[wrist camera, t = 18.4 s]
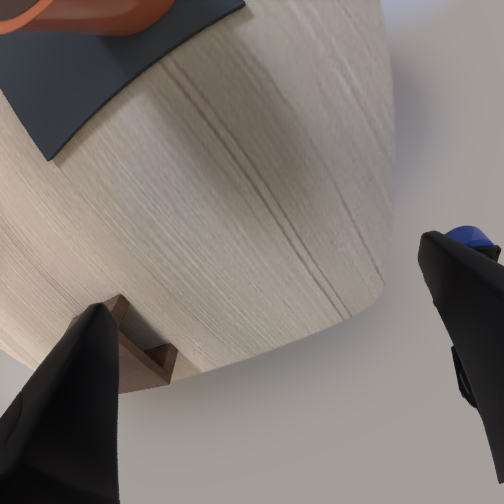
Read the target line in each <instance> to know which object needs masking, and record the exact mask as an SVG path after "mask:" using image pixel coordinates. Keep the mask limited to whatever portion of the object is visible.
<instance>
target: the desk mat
mask: <svg viewBox="0 0 504 504" xmlns="http://www.w3.org/2000/svg"><path fill="white" fill-rule="evenodd" d="M243 6H245V2H244V1H243V0H175V1H174V3H173V4H172V6H171V7H170V9H169V10H168V11H167V12H166V13H165V14H164V15H163V16H162V17H161V18H160V19H159V20H158V21H157V22H155V23H154V24H153V25H151V26H150V27H148V28H146V29H144V30H143V31H141V32H138V33H135V34H132V35H129V36H124V37H108V36H99V35H87V34H72V33H16V34H1V35H0V88H1V90H2V92H3V93H4V95H5V97H6V98H7V100H8V102H9V103H10V105H11V107H12V108H13V110H14V112H15V113H16V115H17V116H18V118H19V120H20V121H21V123H22V124H23V126H24V127H25V129H26V130H27V132H28V134H29V135H30V137H31V138H32V139H33V141H34V142H35V144H36V145H37V147H38V148H39V150H40V151H41V153H42V154H43V155H44V157H45V158H46V160H47V161H50V160H52V159H53V158H54V157H55V155H56V154H57V153H58V152H59V151H60V150H61V149H62V147H63V146H64V145H65V144H66V143H67V142H68V141H69V140H70V139H71V138H72V137H73V136H74V134H75V133H76V132H77V131H78V130H79V129H80V128H81V127H82V126H83V125H84V124H85V123H86V122H87V121H88V120H89V119H90V118H91V117H92V116H93V115H94V114H95V113H96V112H97V111H98V110H99V109H101V108H102V107H103V106H104V105H105V104H106V103H107V102H108V101H109V100H110V99H111V98H112V97H114V96H115V95H116V94H117V93H118V92H119V91H120V90H122V89H123V88H124V87H125V86H126V85H127V84H129V83H130V82H131V81H132V80H133V79H135V78H136V77H137V76H138V75H140V74H141V73H142V72H143V71H145V70H146V69H147V68H148V67H150V66H151V65H152V64H154V63H155V62H156V61H158V60H159V59H160V58H162V57H163V56H164V55H166V54H167V53H169V52H170V51H171V50H173V49H174V48H176V47H177V46H179V45H180V44H181V43H183V42H184V41H186V40H187V39H189V38H190V37H192V36H194V35H195V34H197V33H198V32H200V31H201V30H203V29H205V28H206V27H208V26H210V25H211V24H213V23H215V22H216V21H218V20H220V19H221V18H223V17H225V16H227V15H228V14H230V13H232V12H234V11H236V10H238V9H240V8H241V7H243Z"/></svg>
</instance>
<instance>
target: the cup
mask: <svg viewBox="0 0 504 504" xmlns="http://www.w3.org/2000/svg"><path fill="white" fill-rule="evenodd" d="M174 1H175V0H0V35H1V34H16V33H72V34H87V35H99V36H108V37H124V36H129V35H132V34H135V33H138V32H141V31H143V30H144V29H146V28H148V27H150V26H151V25H153V24H154V23H155V22H157V21H158V20H159V19H160V18H161V17H162V16H163V15H164V14H165V13H166V12H167V11H168V10H169V9H170V7H171V6H172V4H173V3H174Z"/></svg>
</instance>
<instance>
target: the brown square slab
mask: <svg viewBox="0 0 504 504" xmlns="http://www.w3.org/2000/svg"><path fill="white" fill-rule="evenodd" d="M104 304H105V305H106V306H107V307H108V309H109V310H110V312H111V313H112V314H113V316H114V317H115V318H116V320H117V322H118V325H120V323H121V321H122V318H123V316H124V314H125V312H126V310H127V308H128V305H129V302H128V301H127V300H126V299H125V298H124V297H123V296H122V295H121V294H119V295H117V296H115V297H113V298H112V299H110V300H108V301H106V302H104ZM81 315H82V314H81ZM81 315H79V316H77V317H75V318H73V320H72V321H71V323H70V325H69V327H68V328H67V330H66V332H67V331H68V330H69V329H70V327H71V326H72V325H73V324H74V323H75V322H76V320H77V319H78V318H79V317H80V316H81ZM66 332H65V333H66ZM64 335H65V334H64ZM177 353H178V350H177V349H176V348H175V347H174V346H173V345H172V344H171V343H170V344H167V345H164V346H160V347H157V348H154V349H151V350H148V351H144V352H143V351H141V350H140V349H139V348H138V347H137V346H136V345H135V344H134V343H132V342H131V341H130V340H129V339H128V338H127V337H126V336H125V335H124V334H123V333H121V332H120V331H119V392H118V394H121V393H127V392H133V391H139V390H144V389H149V388H154V387H159V386H164V385H169V384H170V381H171V377H172V376H171V375H172V373H173V369H174V365H175V361H176V357H177Z"/></svg>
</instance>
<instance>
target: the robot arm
mask: <svg viewBox="0 0 504 504" xmlns="http://www.w3.org/2000/svg"><path fill="white" fill-rule="evenodd" d="M500 252H501V248H500V247H499V246H498V245H489V246H472V247H468V246H466V245H464V244H462V243H460V242H458V241H456V240H454V239H452V238H450V237H448V236H446V235H444V234H442V233H440V232H437V231H429V232H425V233H423V235H422V236H421V241H420V246H419V252H418V263H419V266H420V268H421V270H422V273H423V275H424V278H425V280H426V283H427V285H428V288H429V290H430V293H431V295H432V298H433V304H434V306H435V307H436V308H437V310H438V312H439V314H440V316H441V318H442V321H443V322H444V325H445V327H446V329H447V331H448V333H449V335H450V338H451V340H452V342H453V344H454V345H453V346H452V347H451V351H452V355H453V361H454V366H455V370H456V375H457V380H458V385H459V390H460V392H461V395H462V397H463V398H466V400H467V401H468V402H469V404H471V406H473V407H474V408H477V410H478V412H479V414H480V416H481V418H482V421H483V424H484V427H485V431H486V435H487V438H488V442H489V445H490V449H491V452H492V457H493V461H494V465H495V469H496V473H497V478H498V481H499V484H501V483H503V482H504V266H503V265H501V264H499V263H497V261H498V258H499V255H500ZM118 392H119V325H118V322H117V320H116V318H115V317H114V316H113V314H112V313H111V312H110V310H109V309H108V307H107V306H106V305H105V304H104V303H101V302H100V303H95V304H91V305H90V306H89V307H88V308H87V309H86V310H85V311H84V312H83V313H82V315H81V316H80V317H79V318H78V319H77V320H76V322H75V323H74V324H73V325H72V326H71V327H70V329H69V330H68V331H67V332H66V333H65V335H64V336H63V337H62V338H61V339H60V341H59V342H58V343H57V344H56V346H55V347H54V348H53V349H52V351H51V352H50V353H49V354H48V356H47V357H46V358H45V359H44V361H43V362H42V363H41V364H40V366H39V367H38V368H37V370H36V371H35V372H34V373H33V375H32V376H31V377H30V379H29V380H28V382H27V383H26V384H25V385H24V387H23V388H22V390H21V391H20V392H19V394H18V395H17V396H16V398H15V399H14V401H13V402H12V403H11V405H10V406H9V407H8V409H7V410H6V411H5V413H4V414H3V415H2V417H1V418H0V504H120V500H119V485H118V462H117V461H118V459H117V419H118Z"/></svg>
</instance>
